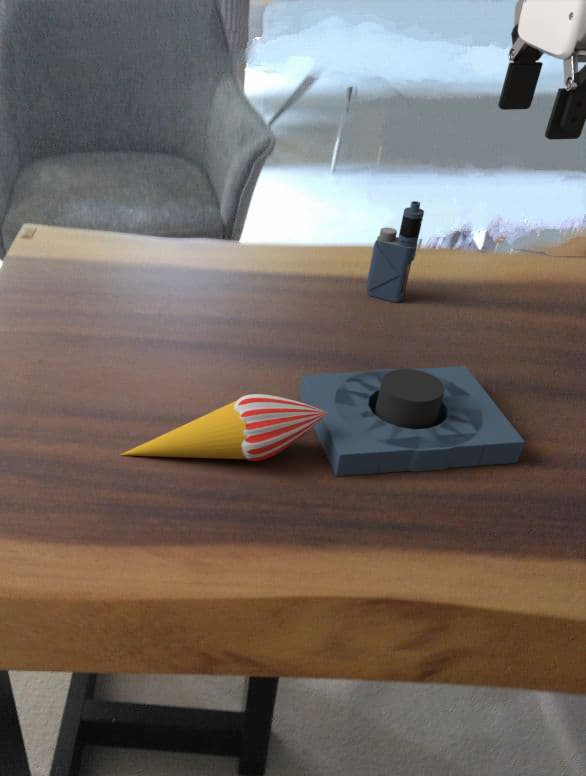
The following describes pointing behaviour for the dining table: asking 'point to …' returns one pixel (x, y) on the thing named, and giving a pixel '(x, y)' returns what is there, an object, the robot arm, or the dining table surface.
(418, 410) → the dark grey cylinder
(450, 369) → the base pad
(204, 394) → the dining table surface
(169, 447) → the ice cream cone
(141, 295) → the dining table surface
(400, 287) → the vaping device
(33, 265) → the dining table surface
